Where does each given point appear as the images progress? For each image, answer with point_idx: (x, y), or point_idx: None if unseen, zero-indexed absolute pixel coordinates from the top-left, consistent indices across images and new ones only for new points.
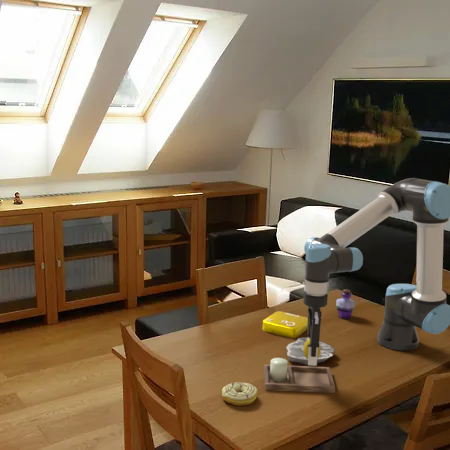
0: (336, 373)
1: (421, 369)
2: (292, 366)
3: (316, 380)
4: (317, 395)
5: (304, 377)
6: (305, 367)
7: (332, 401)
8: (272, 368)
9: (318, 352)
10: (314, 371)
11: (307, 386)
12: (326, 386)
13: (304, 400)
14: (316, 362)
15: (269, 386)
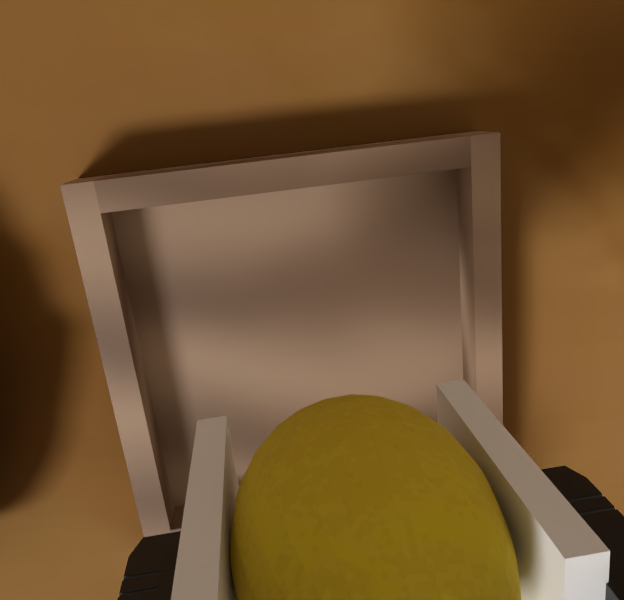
0: (67, 99)
1: None
2: (157, 520)
3: (306, 295)
4: (529, 275)
5: (273, 395)
6: (144, 415)
7: (615, 155)
8: None
9: (463, 449)
10: (132, 320)
11: (498, 373)
12: (495, 216)
13: (608, 364)
14: (479, 401)
15: None
